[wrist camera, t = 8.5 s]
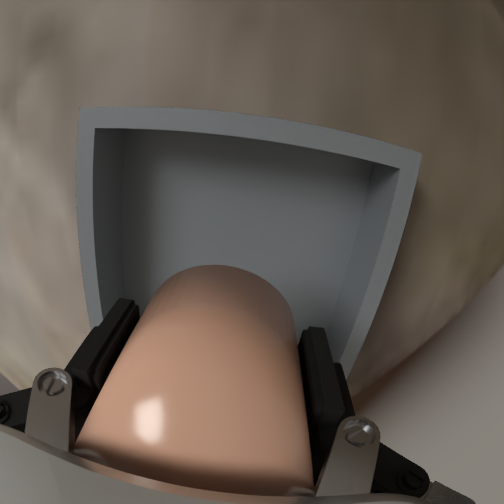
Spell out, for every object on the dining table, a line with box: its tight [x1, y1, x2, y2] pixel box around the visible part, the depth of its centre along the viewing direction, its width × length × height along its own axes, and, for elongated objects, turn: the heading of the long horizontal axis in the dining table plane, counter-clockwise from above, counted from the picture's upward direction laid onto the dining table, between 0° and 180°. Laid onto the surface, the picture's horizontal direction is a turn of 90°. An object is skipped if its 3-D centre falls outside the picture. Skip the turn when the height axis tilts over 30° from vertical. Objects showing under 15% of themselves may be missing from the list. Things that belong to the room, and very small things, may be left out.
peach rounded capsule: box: [74, 265, 314, 497], centre depth 9 cm, size 6×6×7 cm
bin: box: [76, 107, 422, 380], centre depth 17 cm, size 16×16×4 cm
